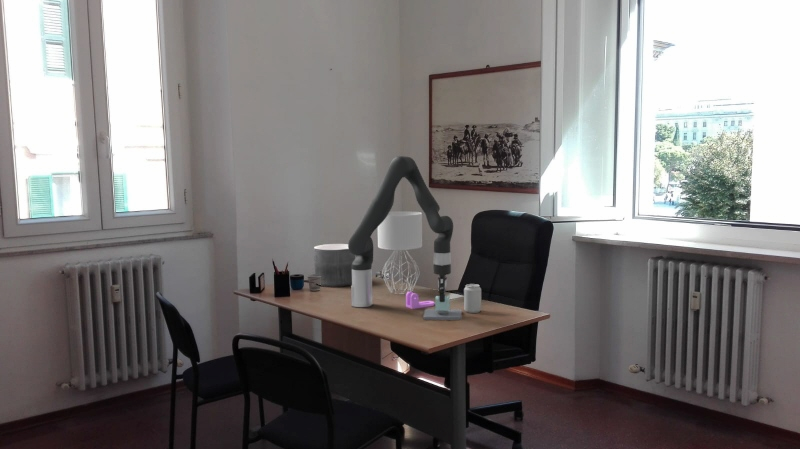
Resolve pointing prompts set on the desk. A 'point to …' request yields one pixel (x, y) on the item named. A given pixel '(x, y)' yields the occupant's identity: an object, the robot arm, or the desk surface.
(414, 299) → the bracket
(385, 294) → the desk surface
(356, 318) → the desk surface
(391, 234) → the table lamp
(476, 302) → the can
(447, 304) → the collar
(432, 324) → the desk surface
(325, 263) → the planter
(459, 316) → the post block
